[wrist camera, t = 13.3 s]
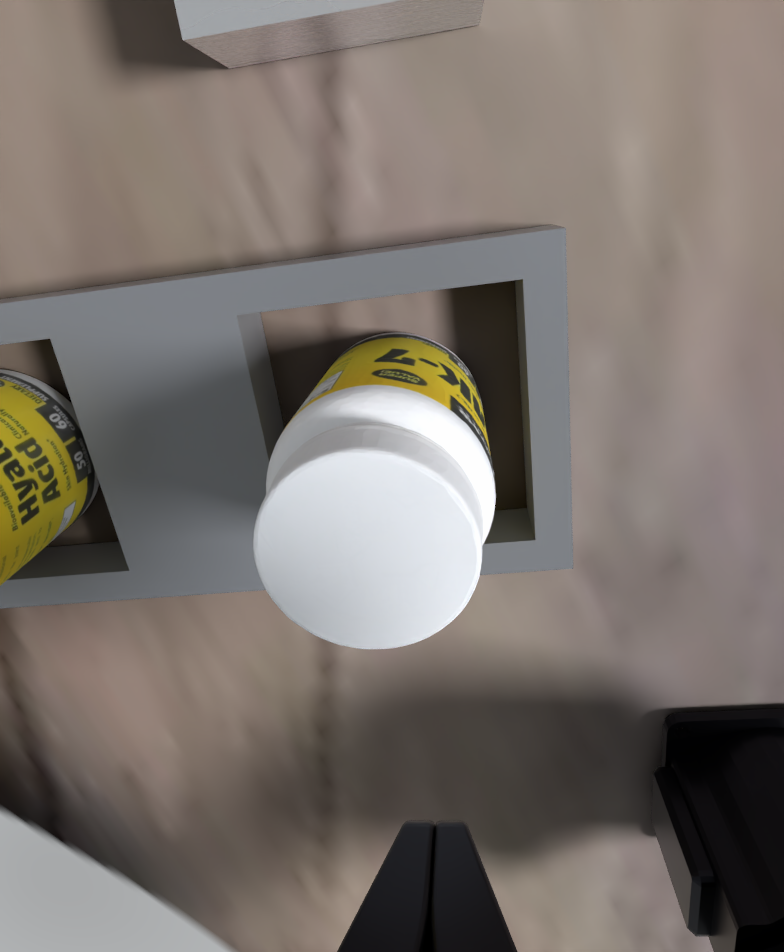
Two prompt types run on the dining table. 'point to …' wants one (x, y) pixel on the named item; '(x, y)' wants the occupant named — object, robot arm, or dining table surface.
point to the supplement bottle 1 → (38, 469)
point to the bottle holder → (263, 408)
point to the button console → (311, 25)
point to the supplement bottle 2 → (379, 497)
